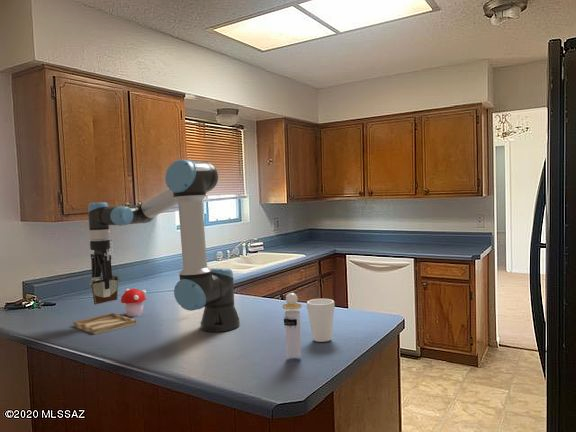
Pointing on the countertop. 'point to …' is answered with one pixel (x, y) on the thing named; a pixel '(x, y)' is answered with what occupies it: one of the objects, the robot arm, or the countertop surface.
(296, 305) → the perfume bottle
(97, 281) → the brown white half-round block
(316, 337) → the foam cup
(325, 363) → the countertop surface
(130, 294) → the mushroom
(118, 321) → the tray
